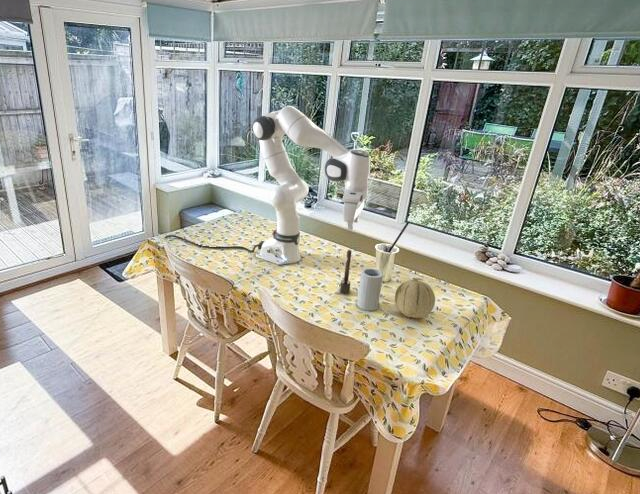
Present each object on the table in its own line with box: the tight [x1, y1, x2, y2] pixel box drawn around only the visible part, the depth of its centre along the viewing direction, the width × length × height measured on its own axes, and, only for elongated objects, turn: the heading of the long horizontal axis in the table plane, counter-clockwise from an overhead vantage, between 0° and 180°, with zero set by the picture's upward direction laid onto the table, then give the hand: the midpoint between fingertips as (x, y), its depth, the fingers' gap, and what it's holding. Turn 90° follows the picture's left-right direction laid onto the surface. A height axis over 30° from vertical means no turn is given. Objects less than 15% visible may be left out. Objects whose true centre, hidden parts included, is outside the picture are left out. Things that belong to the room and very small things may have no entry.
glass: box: [374, 221, 410, 283], centre depth 182 cm, size 11×11×30 cm
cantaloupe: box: [394, 277, 436, 319], centre depth 158 cm, size 15×15×15 cm
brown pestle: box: [339, 249, 352, 295], centre depth 173 cm, size 4×4×20 cm
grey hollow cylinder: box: [356, 267, 383, 312], centre depth 164 cm, size 8×8×15 cm
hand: (353, 225), depth 166 cm, fingers open, 8 cm apart
